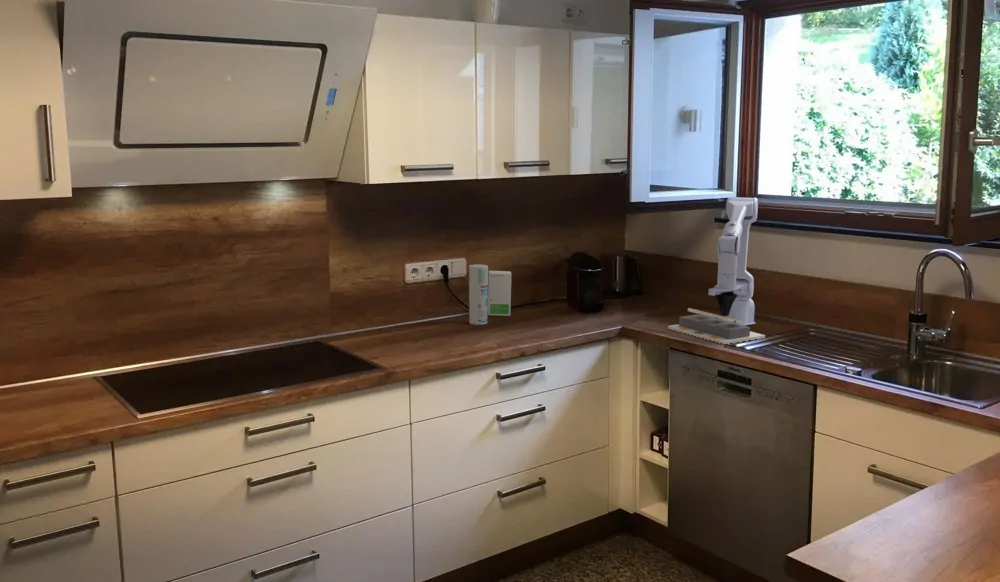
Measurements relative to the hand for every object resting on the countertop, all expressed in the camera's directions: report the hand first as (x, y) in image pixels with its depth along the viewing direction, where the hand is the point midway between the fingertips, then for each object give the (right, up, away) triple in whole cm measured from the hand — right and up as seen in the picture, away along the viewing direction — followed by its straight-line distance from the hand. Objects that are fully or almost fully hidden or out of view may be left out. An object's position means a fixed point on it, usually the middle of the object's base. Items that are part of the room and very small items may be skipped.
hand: (724, 315), depth 277 cm
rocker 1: (-5, 0, +13) cm, 14 cm away
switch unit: (-1, -6, +9) cm, 11 cm away
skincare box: (-72, -1, +37) cm, 81 cm away
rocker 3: (+2, -2, +2) cm, 3 cm away
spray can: (-80, -3, +23) cm, 83 cm away
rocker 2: (-1, -1, +8) cm, 8 cm away
